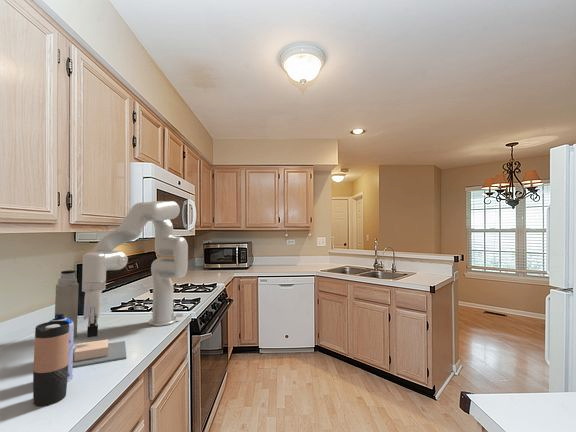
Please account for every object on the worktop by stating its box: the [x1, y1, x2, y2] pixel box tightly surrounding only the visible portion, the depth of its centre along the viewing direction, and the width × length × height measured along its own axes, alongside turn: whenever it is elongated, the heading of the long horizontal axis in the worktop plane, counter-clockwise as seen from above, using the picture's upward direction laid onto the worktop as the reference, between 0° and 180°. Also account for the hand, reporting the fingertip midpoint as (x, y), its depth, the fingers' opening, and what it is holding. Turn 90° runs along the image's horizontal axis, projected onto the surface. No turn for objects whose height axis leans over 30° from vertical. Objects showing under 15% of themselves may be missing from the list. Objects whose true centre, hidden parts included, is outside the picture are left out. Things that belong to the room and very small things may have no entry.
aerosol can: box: [48, 313, 74, 383], centre depth 96 cm, size 8×8×20 cm
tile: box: [74, 338, 109, 361], centre depth 114 cm, size 10×3×9 cm
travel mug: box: [32, 321, 69, 407], centre depth 86 cm, size 8×8×20 cm
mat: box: [72, 340, 127, 369], centre depth 115 cm, size 22×18×1 cm
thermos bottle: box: [54, 269, 79, 338], centre depth 134 cm, size 8×8×28 cm
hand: (92, 336), depth 116 cm, fingers closed
